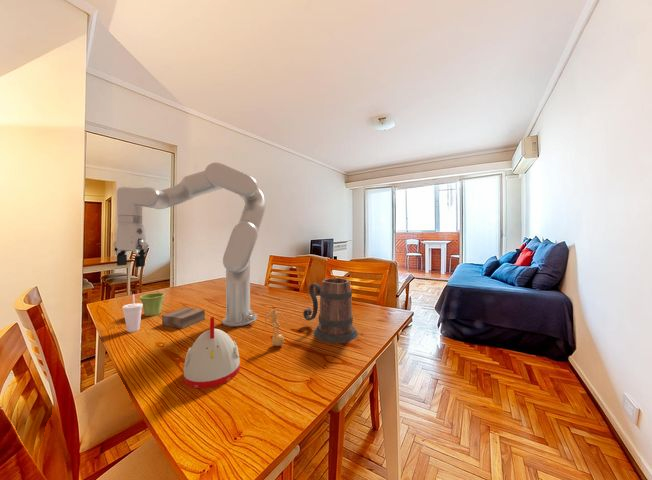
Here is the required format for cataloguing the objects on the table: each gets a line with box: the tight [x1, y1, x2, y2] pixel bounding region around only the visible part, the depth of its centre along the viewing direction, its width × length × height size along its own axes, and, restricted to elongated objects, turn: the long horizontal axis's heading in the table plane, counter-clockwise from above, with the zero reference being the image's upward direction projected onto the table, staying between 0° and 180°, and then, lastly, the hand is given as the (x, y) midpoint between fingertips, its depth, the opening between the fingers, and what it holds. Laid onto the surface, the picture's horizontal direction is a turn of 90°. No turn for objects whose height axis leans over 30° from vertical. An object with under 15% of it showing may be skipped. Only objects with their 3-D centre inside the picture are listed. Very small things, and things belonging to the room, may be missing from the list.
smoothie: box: [121, 293, 143, 333], centre depth 97 cm, size 6×6×14 cm
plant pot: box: [139, 292, 166, 317], centre depth 115 cm, size 9×9×9 cm
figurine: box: [264, 308, 287, 347], centre depth 85 cm, size 8×6×12 cm
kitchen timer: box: [183, 316, 241, 389], centre depth 68 cm, size 14×14×15 cm
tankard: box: [302, 277, 359, 344], centre depth 97 cm, size 24×17×20 cm
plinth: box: [161, 307, 206, 329], centre depth 106 cm, size 11×11×4 cm
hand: (130, 265), depth 96 cm, fingers open, 9 cm apart
